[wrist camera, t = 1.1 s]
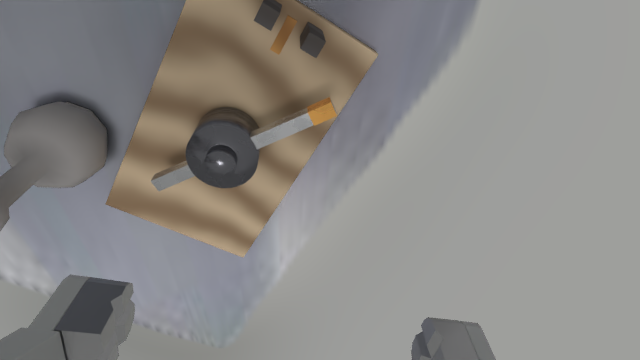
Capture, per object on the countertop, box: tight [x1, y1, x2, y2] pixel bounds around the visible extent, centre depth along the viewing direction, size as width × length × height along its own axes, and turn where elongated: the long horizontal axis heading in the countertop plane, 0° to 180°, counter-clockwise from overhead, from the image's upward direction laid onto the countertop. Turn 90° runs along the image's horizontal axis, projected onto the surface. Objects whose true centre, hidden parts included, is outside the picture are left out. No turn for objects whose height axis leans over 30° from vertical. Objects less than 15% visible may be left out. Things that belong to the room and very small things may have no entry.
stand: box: [106, 0, 378, 257], centre depth 41 cm, size 31×18×6 cm, turn 149°
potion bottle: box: [0, 101, 107, 231], centre depth 35 cm, size 9×9×18 cm
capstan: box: [151, 97, 337, 191], centre depth 39 cm, size 20×7×6 cm, turn 114°
